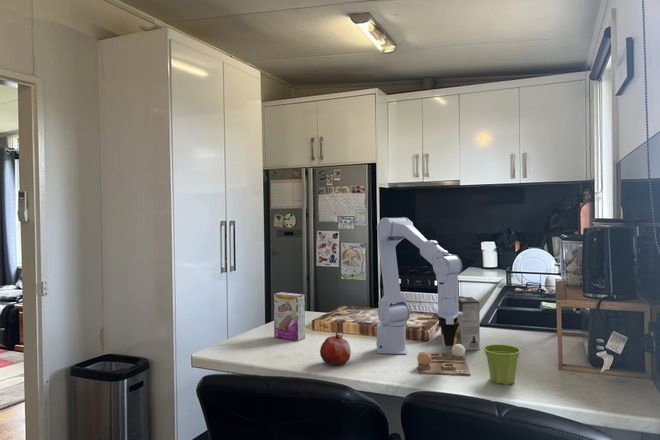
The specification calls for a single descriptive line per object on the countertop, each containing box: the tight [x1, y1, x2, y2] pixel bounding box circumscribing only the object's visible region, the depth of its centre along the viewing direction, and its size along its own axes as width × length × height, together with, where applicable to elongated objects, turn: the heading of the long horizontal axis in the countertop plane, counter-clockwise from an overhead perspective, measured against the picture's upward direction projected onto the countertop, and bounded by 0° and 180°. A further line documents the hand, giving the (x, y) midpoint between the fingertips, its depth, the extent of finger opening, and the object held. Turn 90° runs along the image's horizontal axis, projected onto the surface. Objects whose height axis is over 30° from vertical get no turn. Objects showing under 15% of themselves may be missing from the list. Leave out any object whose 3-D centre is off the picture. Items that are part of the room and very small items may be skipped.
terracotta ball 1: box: [417, 351, 431, 366], centre depth 143 cm, size 4×4×4 cm
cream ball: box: [451, 344, 466, 357], centre depth 150 cm, size 4×4×4 cm
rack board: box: [417, 351, 471, 377], centre depth 146 cm, size 14×20×1 cm
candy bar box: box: [273, 291, 306, 342], centre depth 180 cm, size 11×5×16 cm, turn 58°
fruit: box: [319, 331, 352, 367], centre depth 148 cm, size 9×10×10 cm
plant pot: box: [483, 343, 522, 385], centre depth 131 cm, size 9×9×9 cm
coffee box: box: [455, 296, 481, 351], centre depth 165 cm, size 9×6×16 cm
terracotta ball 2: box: [441, 336, 456, 348], centre depth 141 cm, size 4×4×4 cm
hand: (448, 343), depth 141 cm, fingers closed on terracotta ball 2, 4 cm apart
